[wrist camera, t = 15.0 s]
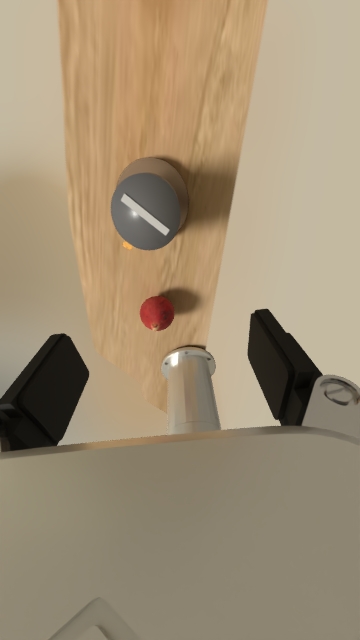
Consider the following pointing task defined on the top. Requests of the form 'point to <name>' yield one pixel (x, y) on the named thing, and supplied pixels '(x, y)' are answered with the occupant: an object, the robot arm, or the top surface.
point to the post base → (165, 171)
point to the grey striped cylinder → (145, 211)
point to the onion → (157, 313)
